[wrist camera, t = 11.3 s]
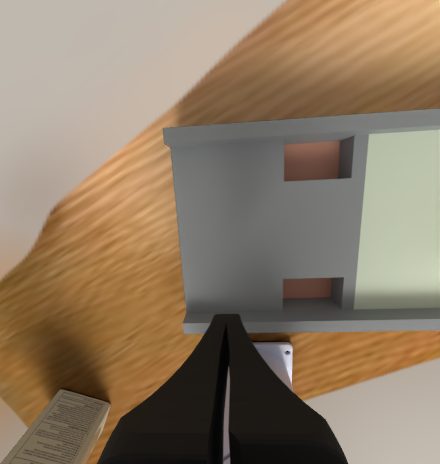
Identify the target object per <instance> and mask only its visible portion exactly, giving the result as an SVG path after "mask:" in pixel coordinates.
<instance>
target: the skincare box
mask: <svg viewBox="0 0 440 464" xmlns="http://www.w3.org/2000/svg"><path fill="white" fill-rule="evenodd" d="M109 409H110V403H108V402H105V401H102V400H98V399H95V398H91V397H88V396H84V395H81V394H78V393H74V392H70V391H66V390H62V389H60V390H59V391H58V392H57V394H56V395H55V396H54V397H53V399H52V400H51V401H50V402H49V404H48V405H47V406H46V407H45V409H44V410H43V411H42V412H41V414H40V415H39V416H38V418H37V419H36V420H35V421H34V422H33V424H32V425H31V426H30V428H29V429H28V430H27V431H26V433H25V434H24V435H23V436H22V438H21V439H20V440H19V441H18V443H17V444H16V445H15V446H14V447H13V449H12V450H11V451H10V452H9V454H8V455H7V456H6V457H5V459H4V460H3V461H2V462H1V464H86V462H87V460H88V458H89V456H90V454H91V452H92V450H93V448H94V446H95V444H96V442H97V440H98V438H99V436H100V434H101V432H102V430H103V428H104V425H105V422H106V419H107V416H108V412H109Z"/></svg>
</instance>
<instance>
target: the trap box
mask: <svg viewBox="0 0 440 464" xmlns="http://www.w3.org/2000/svg"><path fill="white" fill-rule="evenodd" d="M163 135H164V144H166V145H167V146H169V147H170V149H171V160H172V170H173V180H174V190H175V201H176V211H177V221H178V232H179V242H180V252H181V263H182V273H183V283H184V294H185V304H186V315H185V318H184V321H183V331H184V334H205V332H206V331H207V329H208V327H209V325H210V323H211V321H212V319H213V316H214V315H215V314H239V315H240V317H241V321H242V323H243V325H244V328H245V330H246V332H247V333H291V332H358V331H426V330H440V108H437V109H423V110H409V111H395V112H381V113H367V114H353V115H339V116H325V117H311V118H297V119H283V120H268V121H254V122H240V123H226V124H212V125H198V126H184V127H170V128H163Z"/></svg>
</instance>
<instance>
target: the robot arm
mask: <svg viewBox="0 0 440 464" xmlns="http://www.w3.org/2000/svg"><path fill="white" fill-rule="evenodd" d="M286 351H289V352H286ZM292 353H293V348H292V345H291V343H289V342H252V341H251V339H250V337H249V335H248V334H247V332H246V330H245V328H244V325H243V323H242V321H241V317H240V315H239V314H215V315H214V316H213V319H212V321H211V323H210V325H209V327H208V329H207V331H206V332H205V334H204V336H203V337H202V339H201V341H200V342H199V344H198V345H197V346H196V348H195V349H194V351H193V352H192V353H191V355H190V356H189V357H188V359H187V360H186V361H185V362H184V363H183V365H182V366H181V367H180V368H179V369H178V370H177V371H176V372H175V373H174V374H173V376H172V377H171V378H170V379H169V380H168V381H167V382H166V383H164V384H163V385H162V386H161V387H160V388H159V389H158V390H157V391H155V392H154V393H153V394H152V395H151V396H150V397H149V398H147V399H146V400H145V401H143V402H142V403H141V404H139V405H138V406H137V407H135V408H134V409H133V410H131V411H130V412H128V413H127V414H126V415H124V416H123V417H121V419H120V420H119V422H118V424H117V426H116V427H115V429H114V431H113V432H112V434H111V436H110V438H109V440H108V441H107V443H106V446H105V448H104V450H103V452H102V454H101V456H100V458H99V461H98V463H97V464H348V462H347V459H346V457H345V455H344V452H343V450H342V448H341V446H340V445H339V443H338V441H337V439H336V437H335V435H334V433H333V432H332V430H331V428H330V427H329V425H328V423H327V421H326V420H325V419H324V418H323V417H322V416H321V415H319V414H318V413H317V412H316V411H314V410H313V409H312V408H310V407H309V406H308V405H307V404H306V403H304V402H303V401H302V400H301V399H300V398H299V397H298V396H297V395H296V394H295V393H294V391H293V388H292Z"/></svg>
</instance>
